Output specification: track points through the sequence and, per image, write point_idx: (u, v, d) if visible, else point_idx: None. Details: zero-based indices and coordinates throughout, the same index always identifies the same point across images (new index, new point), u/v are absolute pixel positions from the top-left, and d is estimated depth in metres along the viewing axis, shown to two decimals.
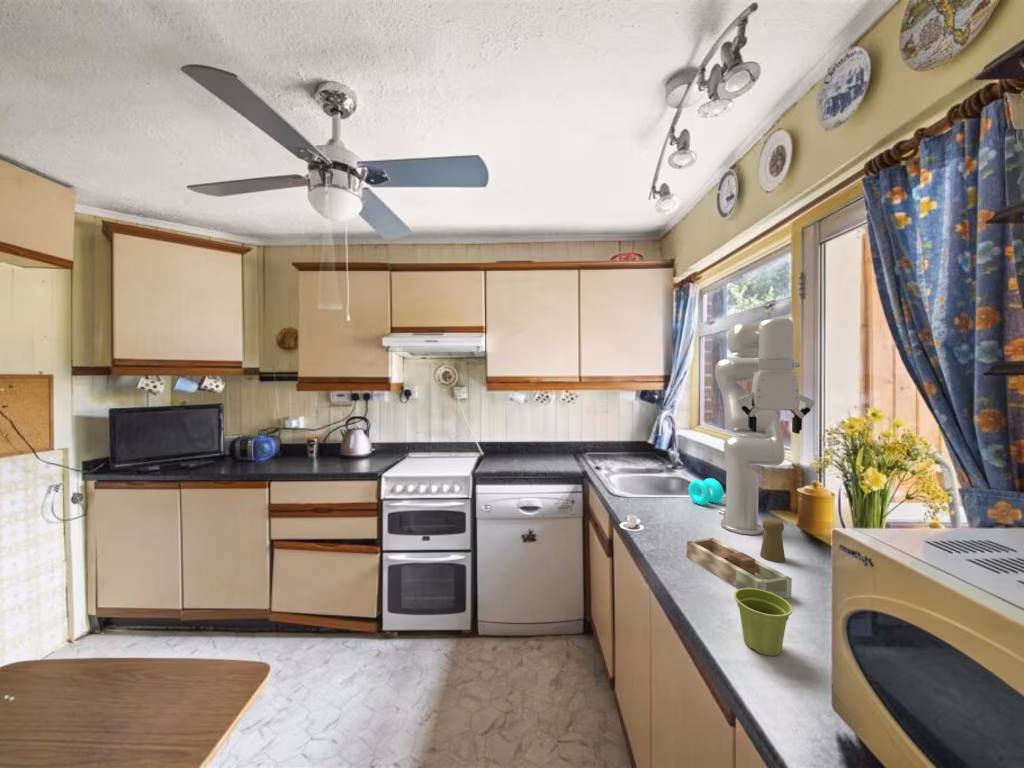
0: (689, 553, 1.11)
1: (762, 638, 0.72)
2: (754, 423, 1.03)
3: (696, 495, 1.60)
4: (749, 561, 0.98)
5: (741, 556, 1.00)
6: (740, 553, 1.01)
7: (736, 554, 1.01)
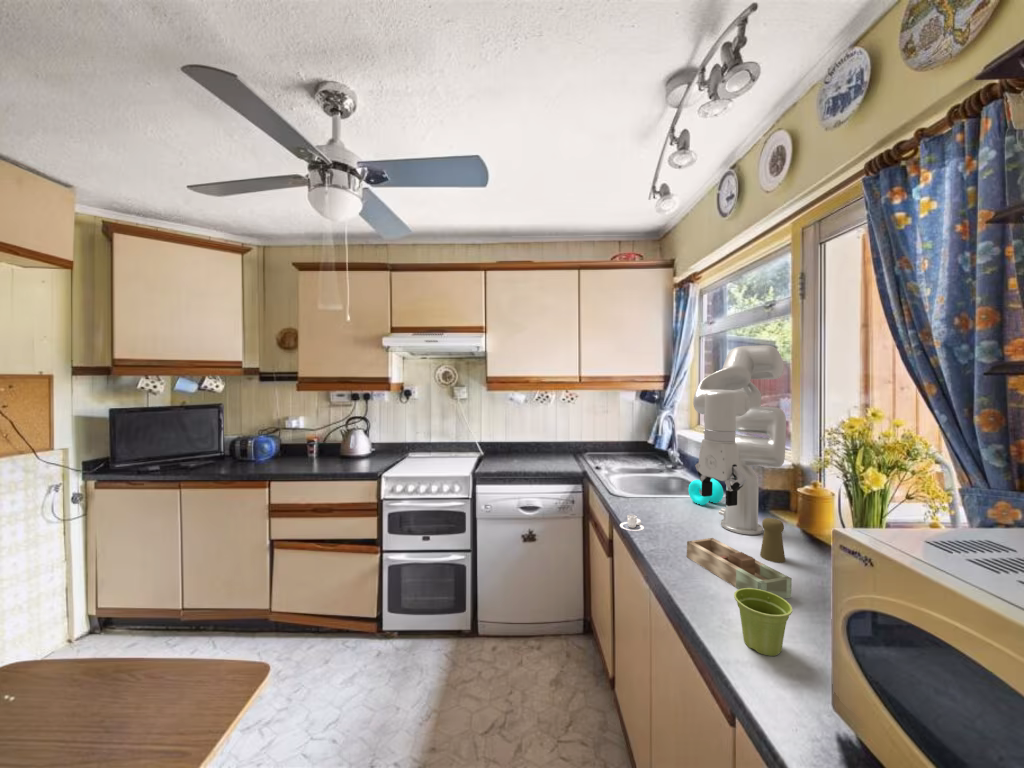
0: (689, 553, 1.11)
1: (762, 638, 0.72)
2: None
3: (696, 495, 1.60)
4: (749, 561, 0.98)
5: (741, 556, 1.00)
6: (740, 553, 1.01)
7: (736, 554, 1.01)
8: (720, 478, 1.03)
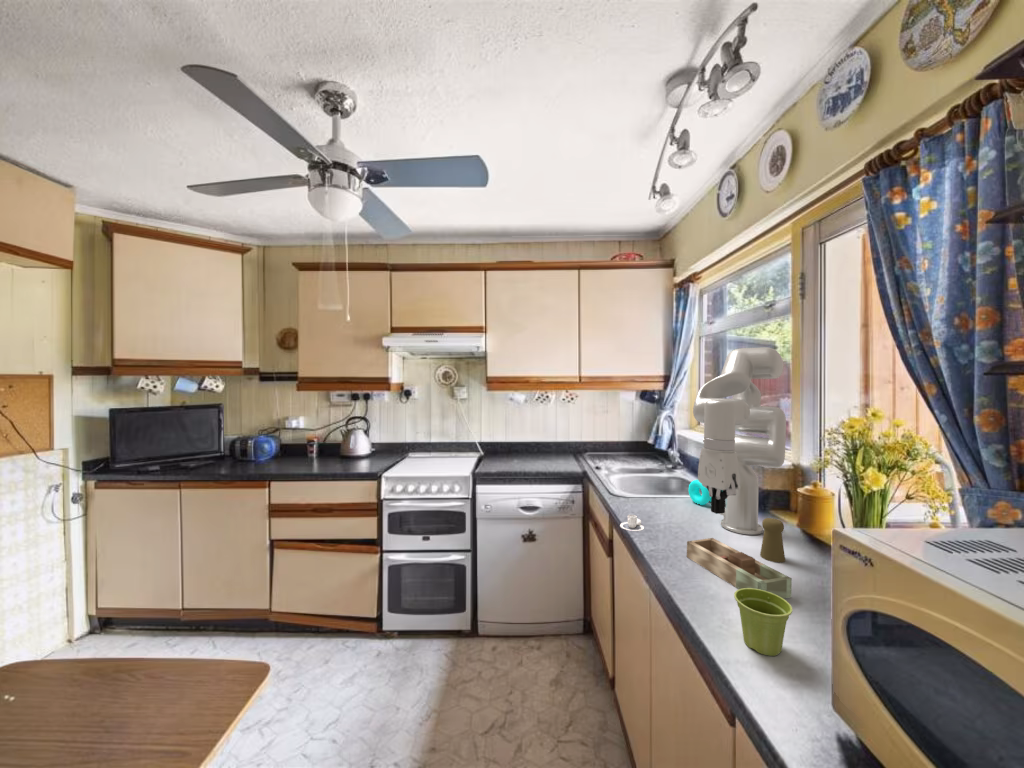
0: (689, 553, 1.11)
1: (762, 638, 0.72)
2: None
3: (696, 495, 1.60)
4: (749, 561, 0.98)
5: (741, 556, 1.00)
6: (740, 553, 1.01)
7: (736, 554, 1.01)
8: (720, 487, 1.03)
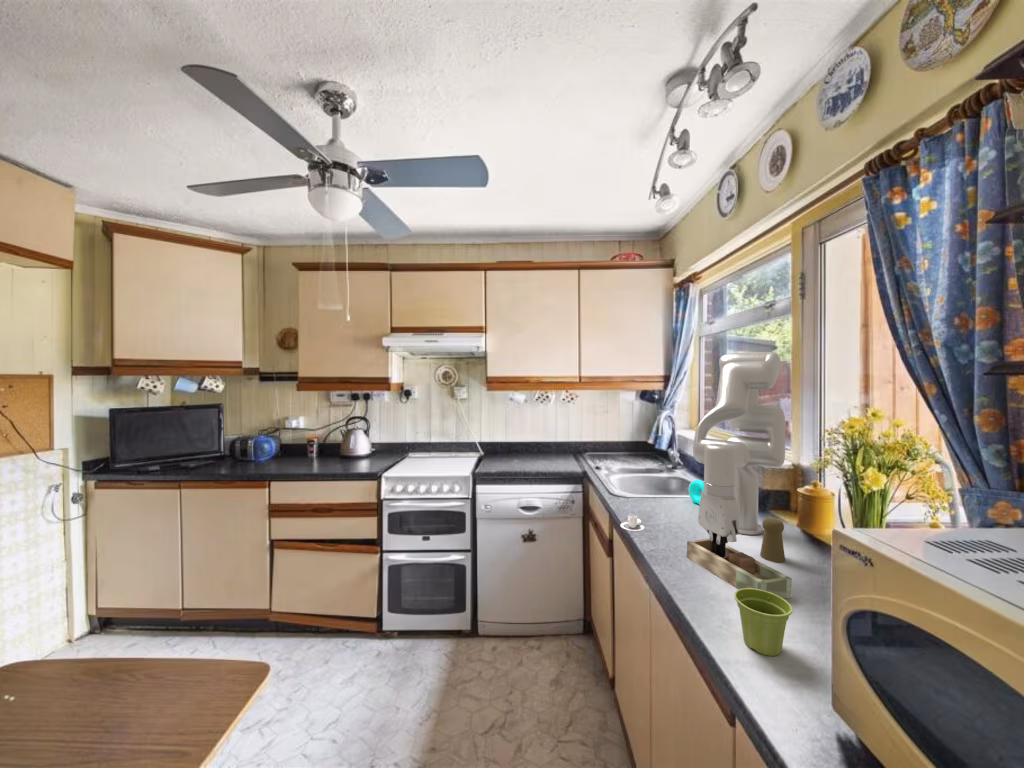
0: (689, 553, 1.11)
1: (762, 638, 0.72)
2: None
3: (696, 495, 1.60)
4: (749, 561, 0.98)
5: (741, 556, 1.00)
6: (740, 553, 1.01)
7: (736, 554, 1.01)
8: (720, 533, 1.03)
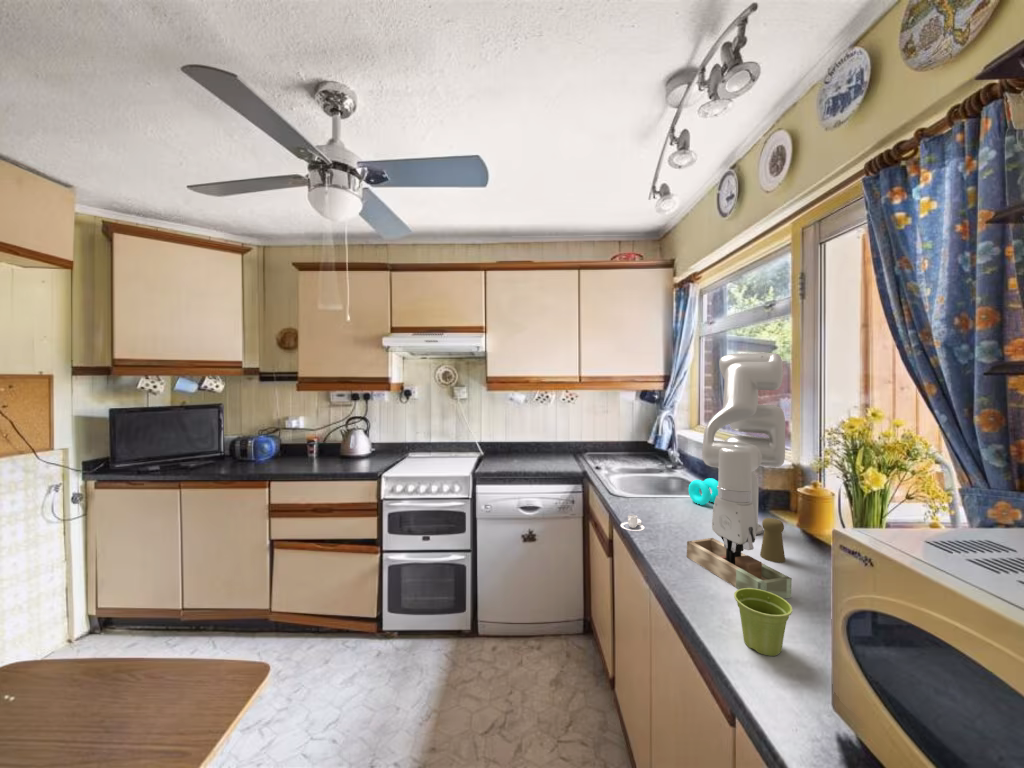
0: (689, 553, 1.11)
1: (762, 638, 0.72)
2: None
3: (696, 495, 1.60)
4: (756, 564, 0.96)
5: (747, 560, 0.98)
6: (746, 556, 1.00)
7: (742, 557, 0.99)
8: (736, 541, 0.98)
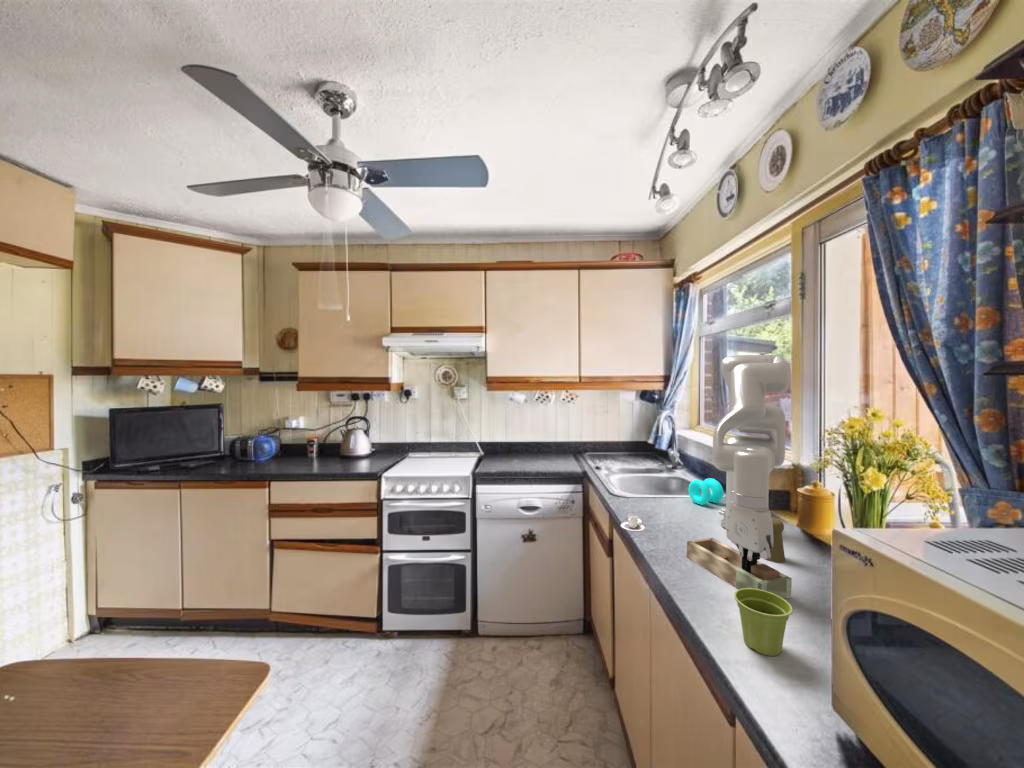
0: (689, 553, 1.11)
1: (762, 638, 0.72)
2: None
3: (696, 495, 1.60)
4: (773, 574, 0.92)
5: (764, 569, 0.93)
6: (762, 565, 0.95)
7: (758, 566, 0.95)
8: (752, 549, 0.94)
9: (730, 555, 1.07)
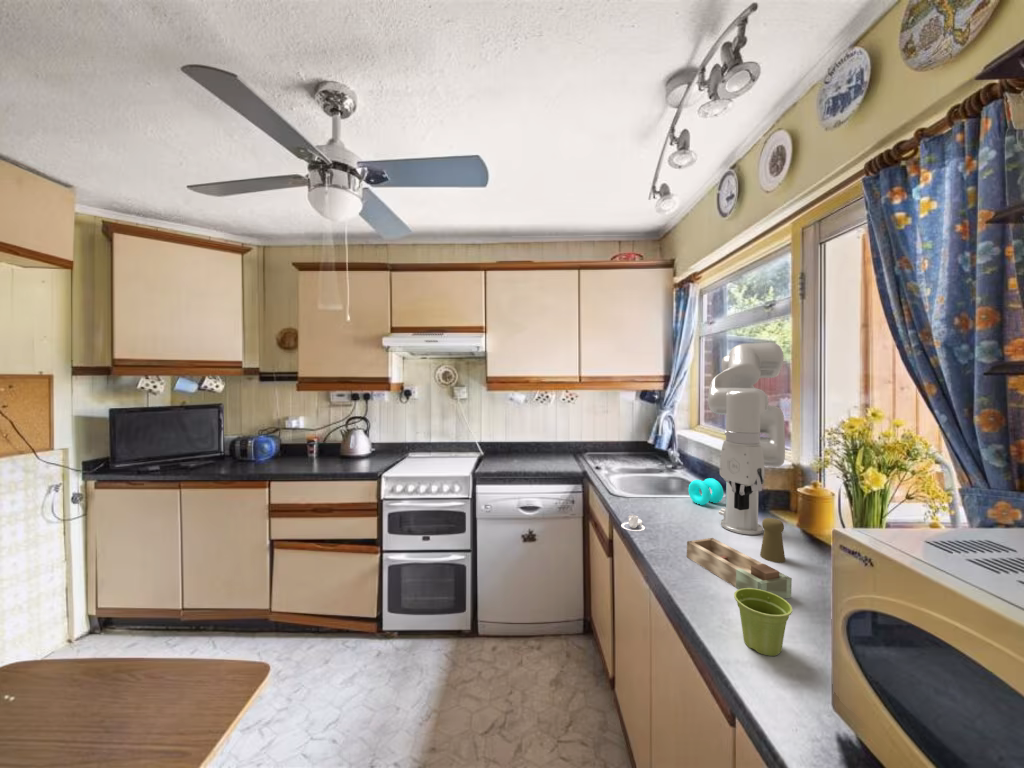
0: (689, 553, 1.11)
1: (762, 638, 0.72)
2: None
3: (696, 495, 1.60)
4: (773, 574, 0.92)
5: (764, 569, 0.93)
6: (762, 565, 0.95)
7: (758, 566, 0.95)
8: (744, 482, 0.97)
9: (730, 555, 1.07)
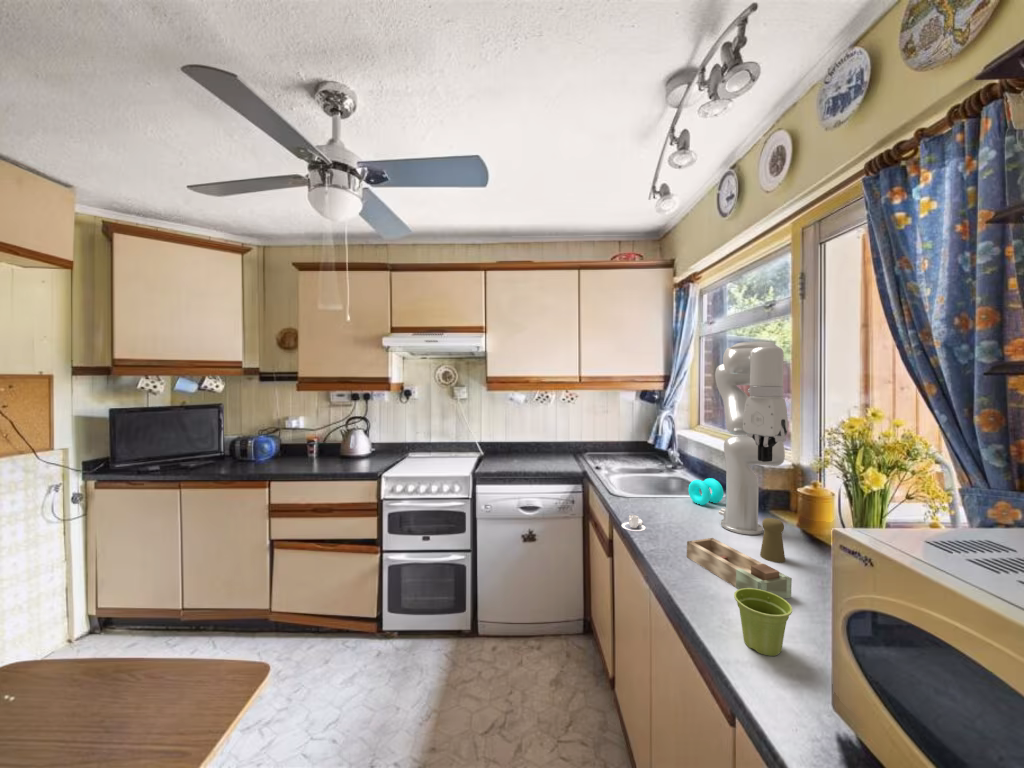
0: (689, 553, 1.11)
1: (762, 638, 0.72)
2: None
3: (696, 495, 1.60)
4: (773, 574, 0.92)
5: (764, 569, 0.93)
6: (762, 565, 0.95)
7: (758, 566, 0.95)
8: (768, 433, 1.02)
9: (730, 555, 1.07)
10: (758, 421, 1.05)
